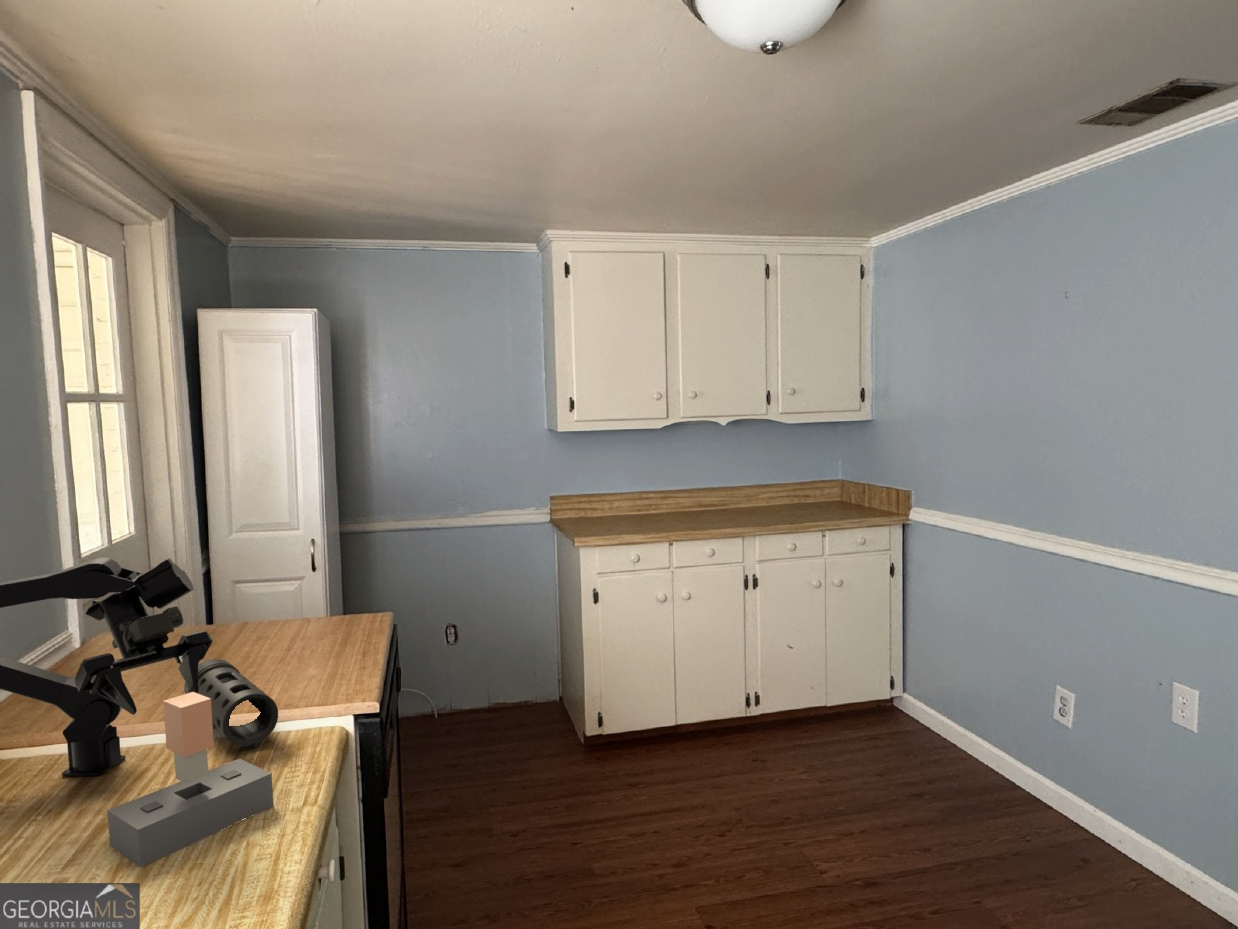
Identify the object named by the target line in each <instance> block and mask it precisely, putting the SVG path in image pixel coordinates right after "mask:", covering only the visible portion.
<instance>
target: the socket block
mask: <svg viewBox="0 0 1238 929" xmlns="http://www.w3.org/2000/svg"><path fill="white" fill-rule="evenodd" d="M271 808H274V793H273V774H272V772H269V771H267V770H265V769H263V768H261V767H258V766H256V765H255V764H252V763H249V762H248V761H245V760H243V759H241V758H238V759H235V760H232V761H230V762H228V763H225V764H222V765H219V766H217V767H214V768H212V769H210V770H209V769H208V775H207V776H204V777H202V778H199V779H197V780H194V781H192V782H189V783H187V784H186V783H184V782H182V781H179V782H176V783H173V784H171V785H168V786H166V787H162V788H161V789H158V790H156V791H153V792H151V793H150V792H149V793H148V794H144V795H143V796H139V797H138V798H134V799H132V800H129V801H126V802H124V803H122V804H119V805H117V806H114V807H112V808H109V809H107V826H108V827H107V828H108V839H109V846H110V848H112V849H113V848H114V849H113V850H115V851H116V852H118V853H119V854H121V855H122V856H123V857H125V858H126V859H128V860H129V861H130V862H132V863H134V864H135V865H136V866H138V867H139V868H140V869H141V868H142V867H144V866H147V865H149V864H151V863H154V862H156V861H157V860H159V859H163V858H165V857H167V856H168V855H170V854H173V853H176V852H177V851H180V850H183V849H184V848H187V847H188V845H189V846H191V845H192V844H195V843H198V842H200V841H202V840H203V838H204V839H206V838H208V837H210V836H213V835H214V833H215V834H217V833H218V831H219V832H221V831H223V830H225V829H224V828H226V827H228V826H230V825H232V826H234V825H236V824H237V823H236V822H238V821H241V820H242V819H244V818H247V819H249V818H248V817H250V816H252V815H254V816H255V814H256V815H258V814H260V813H262V811H263V812H265V811H267V810H269V809H271ZM252 817H253V816H252ZM250 818H251V817H250ZM241 822H242V821H241ZM235 823H236V824H235ZM233 824H234V825H233ZM230 827H231V826H230ZM228 828H229V827H228ZM222 829H223V830H222ZM226 829H227V828H226ZM220 830H221V831H220ZM216 832H217V833H216ZM209 835H210V836H209ZM207 836H208V837H207ZM201 839H202V840H201Z"/></svg>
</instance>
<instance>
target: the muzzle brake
mask: <svg viewBox="0 0 1238 929" xmlns="http://www.w3.org/2000/svg"><path fill="white" fill-rule="evenodd" d="M198 683H199V693H198V694H200V695H203V696H205V697H208V698H211V709H212V723H213V724H212V725H214V726H213V727H215V728H216V729H217V730H218V731H219V733H220V734H222V736H223V737H225V739H226V740H227V741H228V742H230V743H231V744H233V745H235V746H238V747H245V748H246V750H247V751H249V750H253V749H256V748H257V744H259V743H261V742H262V741H264V740H266V738H268V737H269V736H270V735H271V734H272V733H273V731H274V729H275V728H276V726H277V723H278V720H279V709H278V708H279V707H278V706H277V703H276V702H275V700H274V699H273V698H272V697H270V696H269V695H268V694H267V693H265V692H264V691H263V690H262V689H260V688H259V687H258V686H256V685H255V684H254V683H253V682H252V681H251V680H249V679H248V678H247V677H246V676H244V675H243V674H241V672H240V671H239V670H238V669H237V667H235V666H234V665H233V664H232V663H231V662H229V661H227V660H225V659H222V658H212V659H207V660H204V661H202V662H201V661H200V662H199V663H198ZM183 685H184V688H183V690H184V694H187V693H191V691H190V689H189V687H188V686H187V684H186V682H185V681H184V684H183ZM246 700H249V702H251V703H252V705H254V706H255V707H256V708H258V710H259V711H260V712H261V713H260V715H259V716H258V717H257V719H255V720H254V721H252V722H250V723H247V724H245V725H240V726H229V719H230V715H231V713H232V711H233V710H234V709H235V707H236V706H237V705H239V704H240V703H242V702H243V701H246Z"/></svg>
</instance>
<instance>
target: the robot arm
mask: <svg viewBox="0 0 1238 929" xmlns="http://www.w3.org/2000/svg"><path fill="white" fill-rule="evenodd" d="M194 590H195V589H194V584H193V583H192V580H191V578H190V577H189V576H188V573H186V572H185V570H182V568H180V567H179V565H177V564H176V563H174V562H173V560H172V559H171V558H170V557H168V558H167V557H166V559H164V560H162V561H161V562H160V563H158V565H156V566H154V567H152V568H151V569H149V570H147V571H145V572H139V571H136V570H132V569H128V568H126V567H122V566H121V564H119V563H118V562H117V561H116V560H114V559H113V558H111V557H107V556H106V557H97V558H94V559H91V560H87V561H85V562H82V563H79V564H75V565H72V566H70V567H67V568H64V569H62V570H59V571H55V572H53V573H48V574H47V573H46V574H41V575H35V576H29V577H23V578H19V579H18V578H17V579H12V580H6V581H1V582H0V609H1V608H5V607H6V608H7V607H12V606H17V605H24V604H28V603H33V602H35V603H36V602H40V601H44V600H51V599H53V600H54V599H64V600H65V599H66V600H84V599H85V600H87V599H89V600H90V599H99V598H102V597H104V596H106V595H108V594H109V593H112V594H110V595H109V596H107V597H105V598H103V599H101V600H93V601H92V603H91V605H90V606H89V607H88V609H87V610H86V611H85V615H86V616H87V617H90V618H91V619H94V620H96V621H98V622H99V621H102V620H105V622H106V625H107V628H108V629H109V632H110V633H111V636H112V638H113V640H112V643H111V645H112V647H113V649H118V651H119V653H120V655H121V658H118V659H115V656H114V655H113V653H110V652H107V653H103V654H98V655H94V656H91V657H87V658H83V659H82V662H81V663H80V665H79V667H78V670H77V673H76V674H75V677H70V676H66V675H63V674H59V673H58V672H53V671H50V670H47V669H44V668H40V667H37V666H34V665H31V664H28V663H24V662H20V661H17V660H14V659H12V658H8V657H4V656H1V655H0V690H2V691H5V692H8V693H11V694H16V695H19V696H21V697H22V696H23V697H25V698H29V699H33V700H37V701H39V702H42V703H46V704H50V705H52V706H54V707H57V708H58V709H59V710H60V711H62V713H63V714H65V715H67V717H69V718H70V719H71V721H70V722H69V723H68V724H67V726H66V727H65V728H64V729H63V731H62V735H63V738H64V739H65V740H66V744H67V747H66V748H67V758H68V759H67V760H68V768H67V769H65V770H63V771H62V772H61V776H63V777H81V776H82V777H83V776H84V777H89V776H90V777H93V776H94V777H95V776H96V777H98V776H101V775H103V774H104V773H106V772H107V771H109V770H110V769H112V768H114V767H115V766H116V765H118V764H119V763H121V762H123V760H125V759H126V755H124V754H121V744H120V743H121V742H120V740H121V739H120V736H119V735H118V730H117V726H113V725H112V723H113V722H114V721H115V720H116V719H117V718H118V716H119V715H120V713H121V712H122V711H123V710H124V711H126V712H127V713H129V714H130V715H132V716H134V715H136V714H137V711H138V709H137V706H136V704H135V701H134V698H133V697H132V696H131V693H130V691H129V689H128V687H127V686H126V684H125V681H124V680H123V675H122V672H124V671H128V670H133V669H136V668H140V667H144V666H148V665H152V664H156V663H159V662H163V661H168V660H170V659H175V661H176V663H177V664H178V665H179V667H178V668H177V669H178V671H179V672H180V675H181V677H182V678H183V681H184V683H185V682H186V684H187V686H188V687H189V689H190V691H191V692H195V693H197V694H198V693H199V683H198V664H199V663H200V662H201V661H202V660H204V658H205V657H206V655H207V652H208V651H209V649H210V648H211V646H212V644H213V642H214V641H213V638H212V637H211V635H210V633H209V632H208V631H206V630H198V631H194V632H190V633H186V634H183V635H181V636H180V638H179V640H178V641H177V642H178V643H177V644H175V645H171V646H166V647H165V646H164V644H166V643H168V641H169V636H168V635H169V634H170V633H173V632H175V629H176V628H179V627H181V625H183V624H184V618H183V613H182V611H181V610H180V608H179V606H177V605H175V606H172V607H167V606H170V605H171V604H172V603H174V602H176V601H178V600H179V599H181V598H183V597H184V596H186V595H188V594H190V593H191V592H193V591H194ZM145 605H146V606H147V607H148V608H151V609H154V608H157V609H159V610H162V609H164V608H165V610H163V611H162V612H161V613H156V614H153V615H150V614H149V613H148V611H147V608H146V607H145ZM166 607H167V608H166Z"/></svg>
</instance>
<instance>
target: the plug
mask: <svg viewBox="0 0 1238 929" xmlns="http://www.w3.org/2000/svg"><path fill="white" fill-rule="evenodd" d="M162 702H163V714H164V732H165V744H166V745H165V746H166V749H167V750H168V751H171V752H173V754H174V755H173V757H174V772H175V779H176V780H178V781H179V782H181V781H182V782H184V783H186V784H187V783H189V782H192V781H194V780H197V779H199V778H202V777H204V776H207V775H208V771H209V763H208V749H209V748H213V747H214V746H215V742H214V728H213V727H214V726H213V724H212V709H211V698H208V697H205V696H203V695H200V694H197V693H195V692H191V693H187V694H185V693H183V694H181V695H178V696H175V697H171V698H167V699H165V700H163V701H162Z"/></svg>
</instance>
